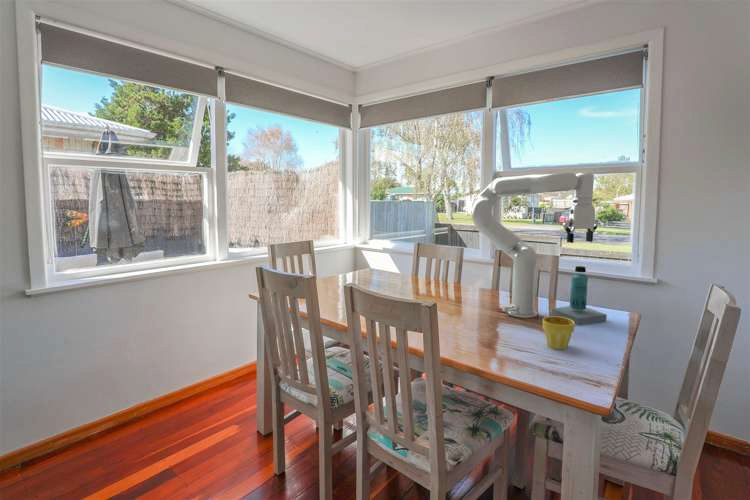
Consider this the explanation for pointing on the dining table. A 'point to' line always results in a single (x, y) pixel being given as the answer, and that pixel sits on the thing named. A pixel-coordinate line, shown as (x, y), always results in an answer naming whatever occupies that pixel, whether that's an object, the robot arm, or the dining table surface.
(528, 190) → the robot arm
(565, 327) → the plant pot
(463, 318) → the dining table surface
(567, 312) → the stand
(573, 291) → the beverage bottle
